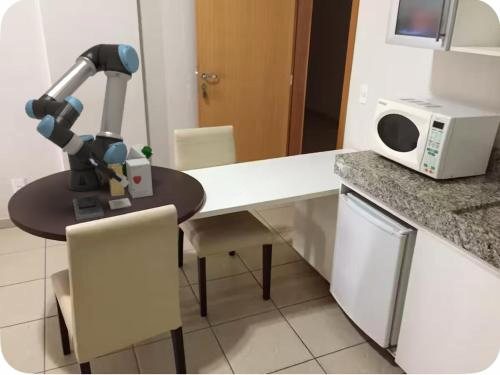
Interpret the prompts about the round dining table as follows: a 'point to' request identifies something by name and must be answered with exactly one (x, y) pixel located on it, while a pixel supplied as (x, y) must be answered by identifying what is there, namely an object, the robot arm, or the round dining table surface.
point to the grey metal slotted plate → (87, 212)
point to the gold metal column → (115, 187)
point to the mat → (119, 203)
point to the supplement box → (139, 177)
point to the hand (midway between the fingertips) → (125, 182)
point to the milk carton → (137, 155)
